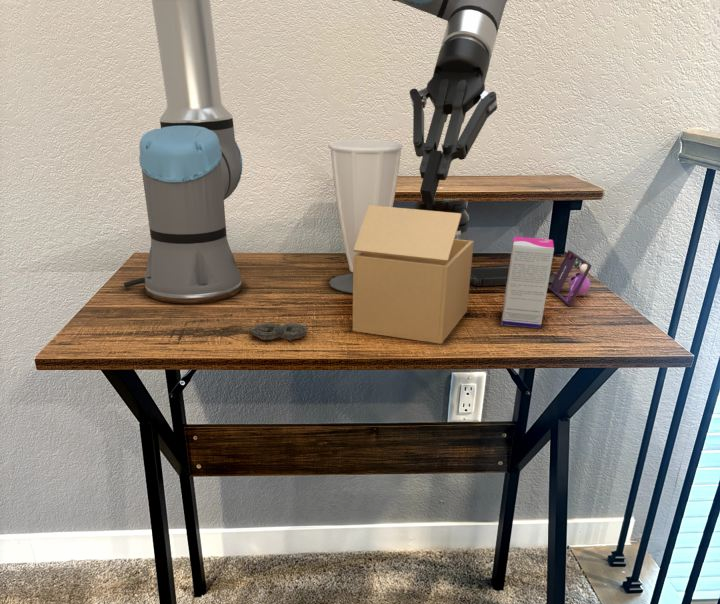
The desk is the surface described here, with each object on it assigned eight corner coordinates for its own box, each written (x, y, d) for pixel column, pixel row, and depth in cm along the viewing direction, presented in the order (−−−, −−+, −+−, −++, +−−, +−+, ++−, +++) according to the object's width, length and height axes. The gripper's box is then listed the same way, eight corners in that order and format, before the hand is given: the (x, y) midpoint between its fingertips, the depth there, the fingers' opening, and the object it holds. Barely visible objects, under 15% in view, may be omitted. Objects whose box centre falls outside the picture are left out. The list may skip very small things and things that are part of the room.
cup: (343, 271, 129) (343, 137, 118) (405, 278, 126) (412, 141, 114) (318, 289, 119) (316, 145, 108) (385, 297, 116) (390, 150, 105)
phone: (460, 267, 128) (540, 263, 131) (459, 273, 128) (539, 269, 131) (474, 279, 121) (558, 275, 124) (474, 286, 122) (557, 282, 125)
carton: (441, 344, 99) (447, 266, 94) (352, 331, 103) (353, 255, 98) (467, 311, 111) (473, 240, 106) (386, 300, 115) (388, 232, 110)
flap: (447, 262, 94) (447, 260, 93) (354, 251, 97) (353, 249, 97) (461, 215, 96) (461, 213, 95) (369, 206, 99) (368, 204, 99)
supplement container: (420, 254, 140) (423, 187, 134) (472, 261, 136) (479, 193, 130) (398, 267, 132) (401, 197, 125) (453, 275, 128) (459, 203, 122)
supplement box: (542, 328, 105) (554, 247, 99) (500, 325, 106) (510, 244, 100) (541, 315, 110) (553, 238, 104) (502, 312, 111) (511, 235, 105)
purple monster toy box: (564, 248, 118) (585, 263, 111) (591, 258, 120) (614, 274, 112) (545, 287, 121) (564, 304, 114) (571, 296, 123) (592, 314, 115)
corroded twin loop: (306, 342, 98) (306, 335, 98) (247, 341, 98) (247, 334, 98) (309, 329, 103) (309, 322, 102) (252, 328, 103) (252, 321, 102)
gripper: (510, 77, 108) (475, 217, 103) (425, 75, 111) (387, 209, 107) (508, 35, 101) (470, 183, 96) (417, 34, 104) (376, 176, 100)
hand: (426, 196), depth 101 cm, fingers closed
